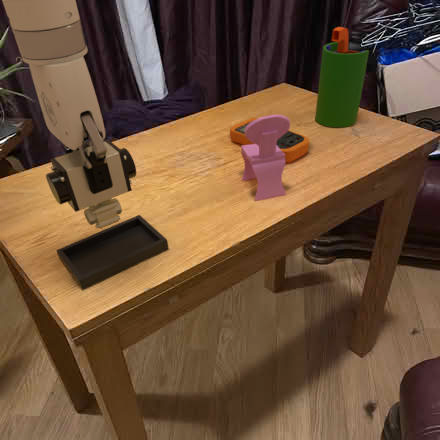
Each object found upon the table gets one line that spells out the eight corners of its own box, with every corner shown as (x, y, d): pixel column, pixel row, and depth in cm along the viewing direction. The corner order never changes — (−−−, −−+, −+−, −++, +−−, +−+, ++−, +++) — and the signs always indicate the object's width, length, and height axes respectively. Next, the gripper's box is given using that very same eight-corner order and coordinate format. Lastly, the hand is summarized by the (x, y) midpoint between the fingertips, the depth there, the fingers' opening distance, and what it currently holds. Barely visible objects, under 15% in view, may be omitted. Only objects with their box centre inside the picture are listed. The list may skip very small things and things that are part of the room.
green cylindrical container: (362, 118, 104) (379, 23, 90) (344, 131, 100) (359, 34, 86) (326, 109, 109) (336, 18, 95) (307, 121, 105) (315, 28, 91)
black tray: (82, 290, 66) (78, 280, 64) (59, 259, 71) (55, 250, 70) (168, 249, 72) (167, 239, 70) (141, 223, 78) (139, 214, 76)
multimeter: (286, 167, 89) (287, 151, 87) (227, 141, 99) (227, 126, 97) (312, 152, 93) (314, 137, 91) (254, 129, 103) (254, 115, 101)
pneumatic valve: (146, 213, 67) (130, 140, 59) (75, 242, 63) (48, 167, 54) (130, 199, 71) (113, 127, 62) (62, 225, 66) (35, 152, 58)
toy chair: (274, 172, 88) (277, 97, 78) (291, 193, 82) (296, 115, 71) (236, 179, 87) (233, 104, 76) (250, 202, 81) (249, 123, 70)
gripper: (-2, 34, 53) (47, 168, 66) (46, 65, 43) (93, 216, 55) (55, 22, 56) (92, 152, 69) (113, 49, 46) (144, 196, 58)
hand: (92, 180), depth 62 cm, fingers closed on pneumatic valve, 5 cm apart
